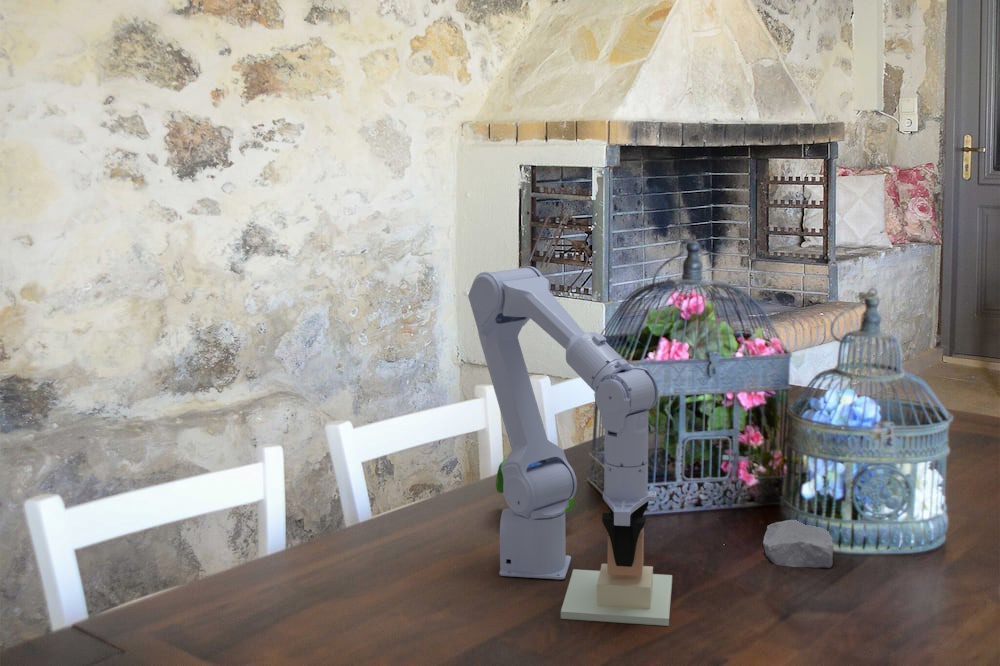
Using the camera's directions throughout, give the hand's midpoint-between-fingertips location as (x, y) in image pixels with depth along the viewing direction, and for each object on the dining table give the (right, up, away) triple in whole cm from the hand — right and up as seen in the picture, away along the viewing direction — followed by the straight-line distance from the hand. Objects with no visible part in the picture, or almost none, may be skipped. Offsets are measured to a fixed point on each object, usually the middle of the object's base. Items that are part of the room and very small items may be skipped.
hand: (625, 558), depth 145 cm
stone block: (+28, -3, +18) cm, 33 cm away
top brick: (0, -1, 0) cm, 1 cm away
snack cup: (-11, -1, +32) cm, 34 cm away
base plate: (-1, -6, +2) cm, 7 cm away
